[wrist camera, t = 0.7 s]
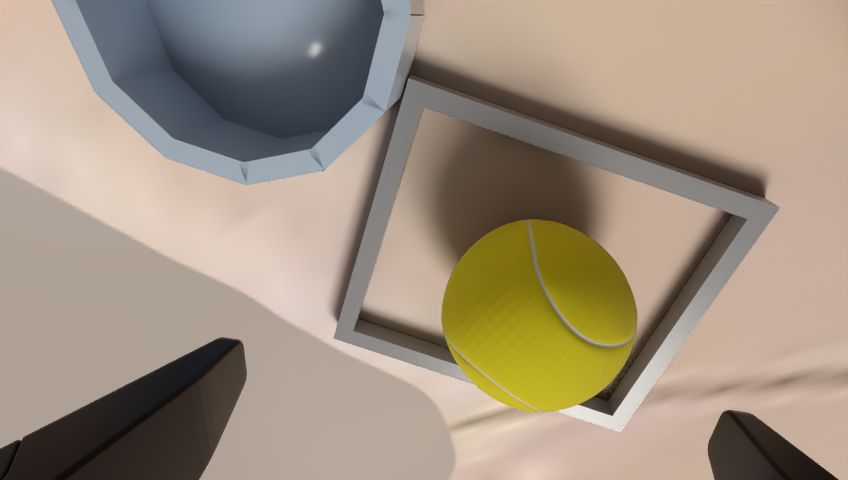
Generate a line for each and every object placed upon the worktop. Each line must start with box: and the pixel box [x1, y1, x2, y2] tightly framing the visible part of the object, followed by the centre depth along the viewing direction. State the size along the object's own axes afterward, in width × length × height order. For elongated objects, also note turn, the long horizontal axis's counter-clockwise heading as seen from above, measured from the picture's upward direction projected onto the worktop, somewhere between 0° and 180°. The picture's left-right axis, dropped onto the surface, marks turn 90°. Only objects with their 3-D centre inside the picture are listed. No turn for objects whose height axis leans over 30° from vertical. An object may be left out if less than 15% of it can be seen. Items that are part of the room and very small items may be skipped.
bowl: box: [51, 0, 425, 185], centre depth 16 cm, size 11×11×4 cm
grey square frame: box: [334, 75, 780, 432], centre depth 21 cm, size 15×13×1 cm
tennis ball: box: [441, 219, 637, 412], centre depth 18 cm, size 7×7×7 cm
